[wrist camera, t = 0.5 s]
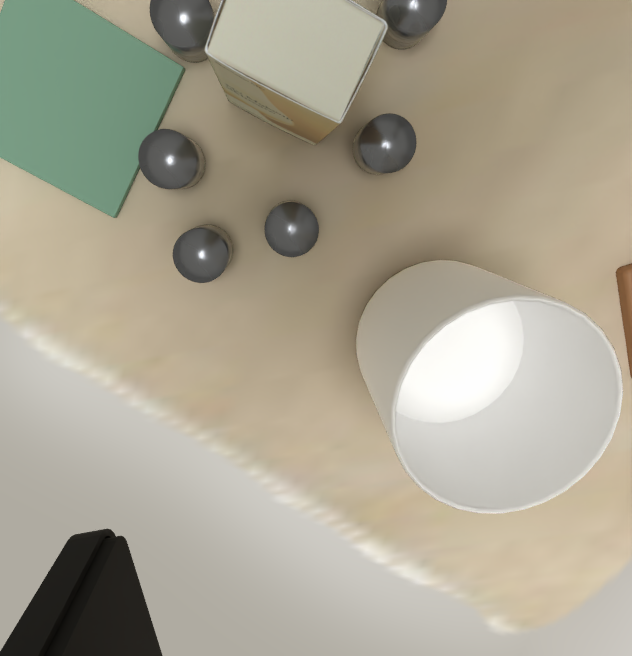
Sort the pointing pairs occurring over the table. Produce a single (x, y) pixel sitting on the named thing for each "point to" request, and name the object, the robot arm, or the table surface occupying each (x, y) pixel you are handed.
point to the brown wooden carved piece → (626, 305)
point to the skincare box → (294, 59)
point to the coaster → (78, 98)
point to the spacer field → (290, 216)
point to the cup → (487, 385)
